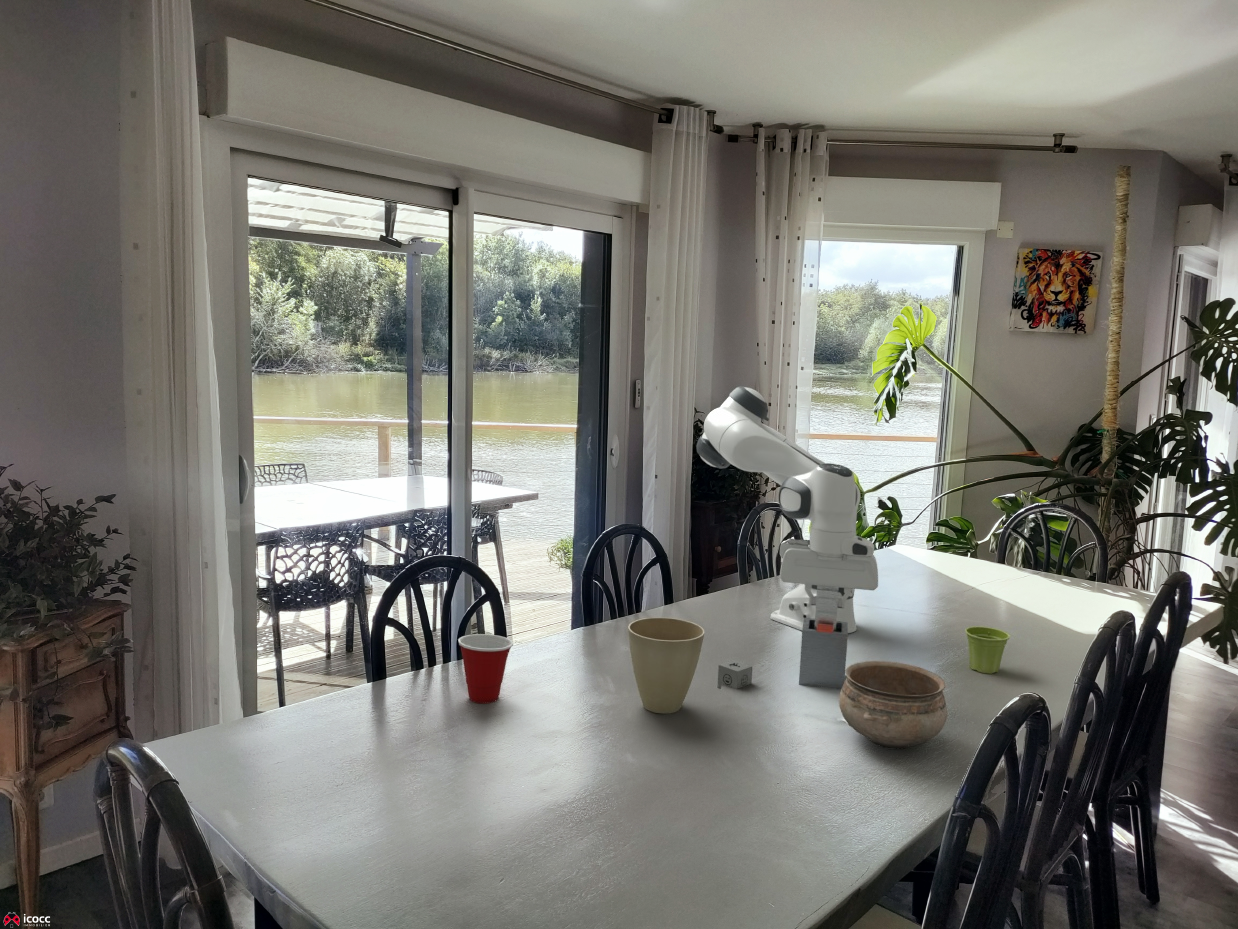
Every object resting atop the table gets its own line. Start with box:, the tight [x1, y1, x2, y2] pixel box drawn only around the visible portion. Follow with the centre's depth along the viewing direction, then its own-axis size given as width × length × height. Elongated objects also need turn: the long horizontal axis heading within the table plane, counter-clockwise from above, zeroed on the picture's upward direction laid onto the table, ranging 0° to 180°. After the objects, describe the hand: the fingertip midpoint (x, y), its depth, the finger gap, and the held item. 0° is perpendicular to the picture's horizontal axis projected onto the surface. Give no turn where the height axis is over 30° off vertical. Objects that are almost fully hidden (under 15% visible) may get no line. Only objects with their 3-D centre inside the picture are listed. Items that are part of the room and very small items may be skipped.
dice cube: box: [717, 659, 753, 690], centre depth 189 cm, size 5×5×5 cm
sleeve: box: [798, 618, 849, 691], centre depth 192 cm, size 16×16×14 cm
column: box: [814, 585, 839, 632], centre depth 191 cm, size 4×5×20 cm
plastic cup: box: [457, 633, 514, 704], centre depth 179 cm, size 11×11×12 cm
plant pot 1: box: [627, 616, 705, 715], centre depth 177 cm, size 15×15×16 cm
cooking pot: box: [838, 660, 948, 750], centre depth 165 cm, size 25×19×12 cm
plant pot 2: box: [964, 626, 1011, 674], centre depth 206 cm, size 9×9×9 cm
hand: (826, 606), depth 191 cm, fingers closed on column, 4 cm apart
